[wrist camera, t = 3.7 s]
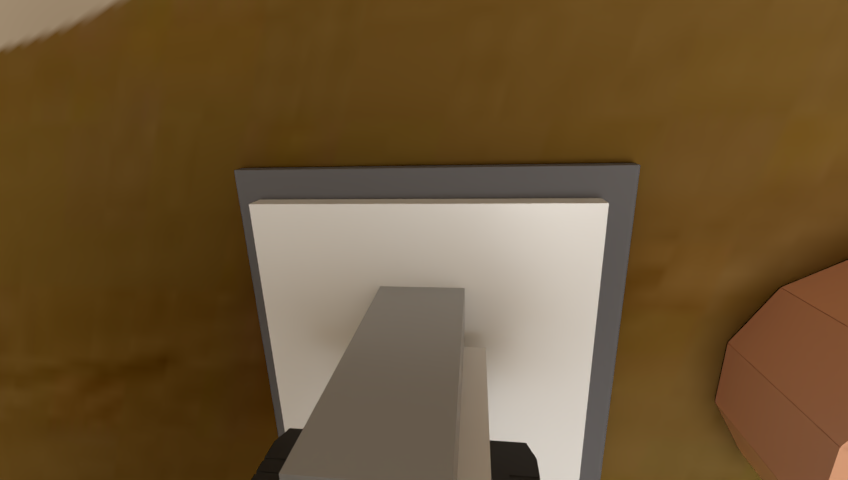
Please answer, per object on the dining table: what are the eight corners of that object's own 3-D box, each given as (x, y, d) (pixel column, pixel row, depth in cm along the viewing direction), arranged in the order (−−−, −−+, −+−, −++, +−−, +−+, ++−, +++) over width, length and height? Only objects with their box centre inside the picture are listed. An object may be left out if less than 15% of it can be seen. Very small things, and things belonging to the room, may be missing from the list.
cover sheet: (299, 459, 19) (156, 740, 10) (260, 199, 15) (-6, 309, 7) (572, 480, 17) (664, 827, 9) (601, 198, 14) (799, 336, 5)
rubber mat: (289, 461, 20) (284, 471, 19) (242, 168, 16) (233, 170, 15) (593, 485, 18) (597, 497, 17) (633, 162, 14) (640, 164, 13)
